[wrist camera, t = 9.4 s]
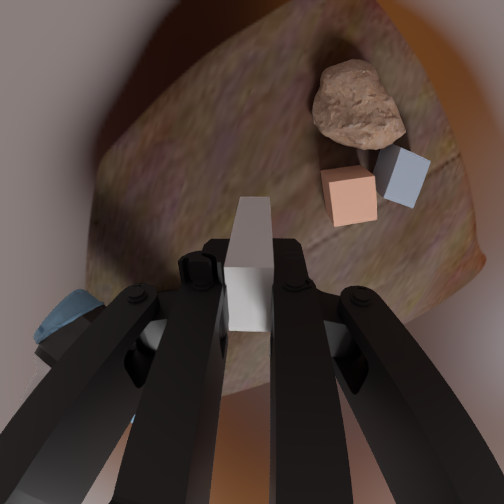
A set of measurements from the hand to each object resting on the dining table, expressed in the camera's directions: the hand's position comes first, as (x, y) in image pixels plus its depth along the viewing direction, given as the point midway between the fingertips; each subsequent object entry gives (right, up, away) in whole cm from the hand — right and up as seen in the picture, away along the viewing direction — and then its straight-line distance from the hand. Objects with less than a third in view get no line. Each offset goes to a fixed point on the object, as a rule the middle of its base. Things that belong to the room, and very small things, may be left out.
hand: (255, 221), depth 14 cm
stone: (+13, +18, +17) cm, 28 cm away
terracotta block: (+13, +8, +23) cm, 28 cm away
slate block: (+20, +11, +21) cm, 31 cm away
